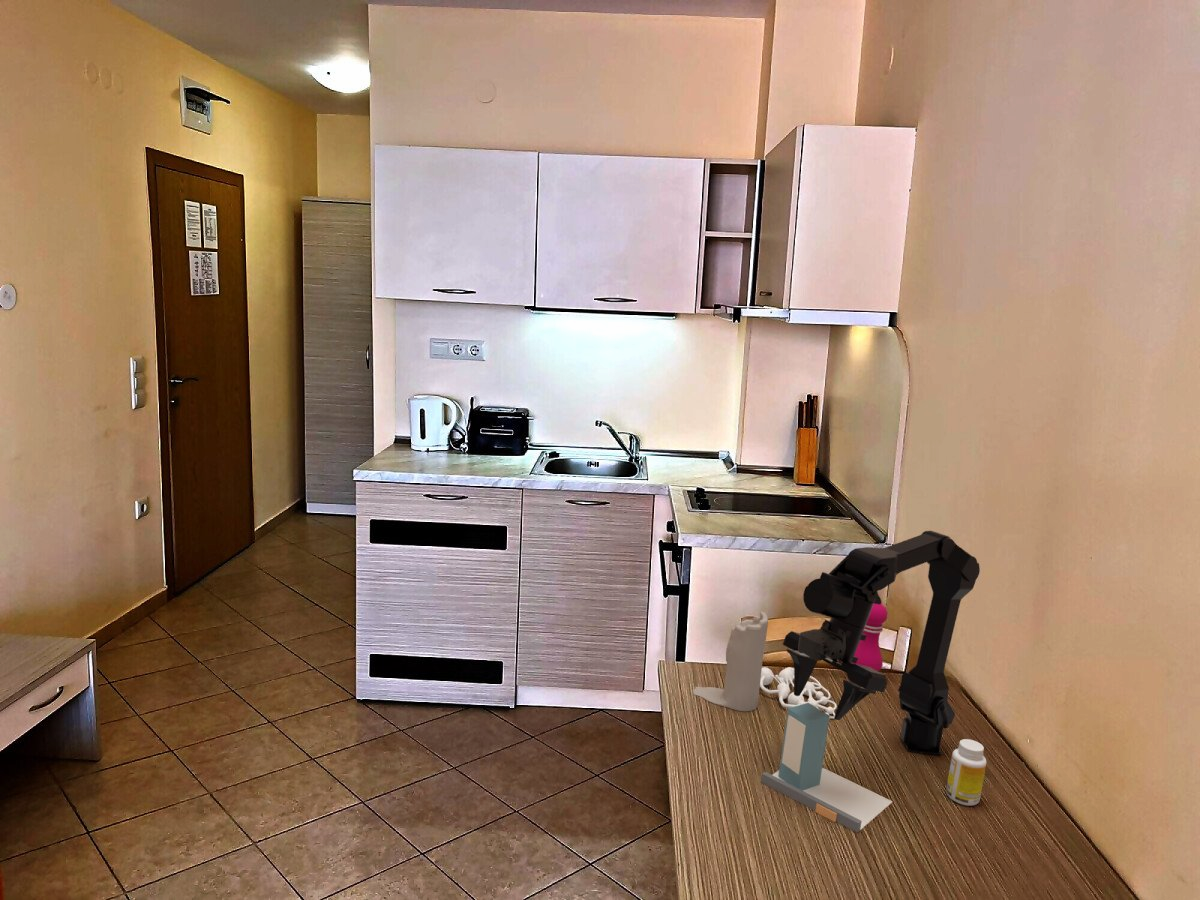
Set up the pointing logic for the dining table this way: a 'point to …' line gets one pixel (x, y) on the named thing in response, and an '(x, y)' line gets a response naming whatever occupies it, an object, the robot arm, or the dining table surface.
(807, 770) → the carton
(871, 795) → the white base plate
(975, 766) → the supplement bottle
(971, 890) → the dining table surface
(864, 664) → the pepper mill
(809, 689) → the tangled rod sculpture
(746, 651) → the candle
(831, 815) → the ticket
